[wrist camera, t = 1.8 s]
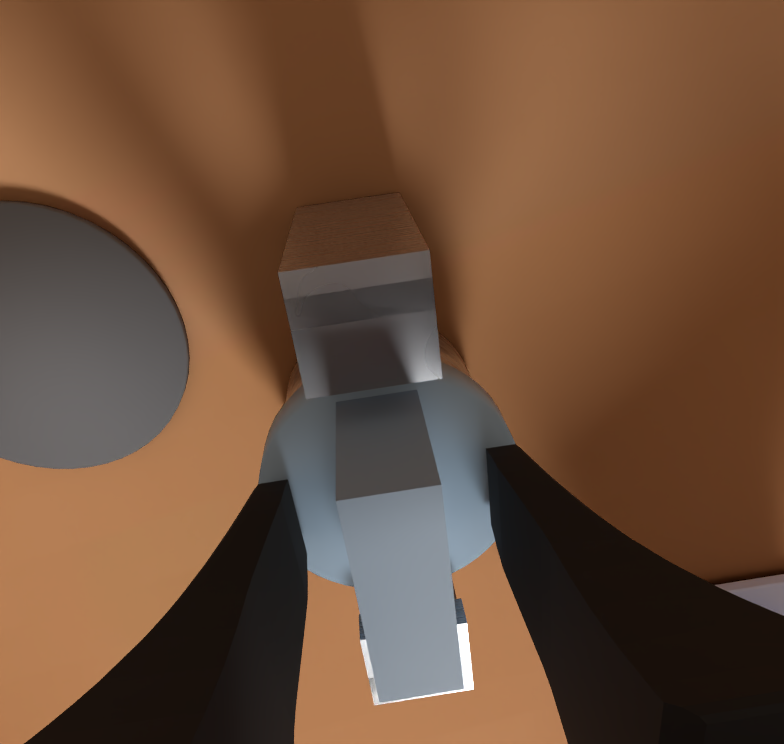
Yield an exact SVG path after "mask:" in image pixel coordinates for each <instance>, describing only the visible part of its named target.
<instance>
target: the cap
mask: <svg viewBox="0 0 784 744" xmlns="http://www.w3.org/2000/svg"><path fill="white" fill-rule="evenodd" d="M441 369H442V379H436V380H429V381H423V382H416V383H410V384H403V385H396V386H390V387H383V388H377V389H370V390H364V391H357V392H351V393H344V394H338V395H331V396H325V397H318V398H312V399H306V397H305V392H304V388H303V386H301V387H300V388H299V389H298V390H297V391H296V392H294V394H293V395H292V396H291V397H290V398H289V399H288V400H287V401H286V402H285V404H284V405H283V406H282V408H281V409H280V411H279V412H278V414H277V415H276V417H275V419H274V421H273V423H272V425H271V427H270V430H269V433H268V436H267V439H266V443H265V447H264V453H263V458H262V463H261V469H260V475H259V483H258V484H261V483H267V482H274V481H280V480H286V479H288V481H289V485H290V489H291V493H292V497H293V501H294V505H295V508H296V512H297V516H298V520H299V524H300V528H301V532H302V536H303V539H304V543H305V547H306V551H307V570H309V571H311V572H312V573H314V574H316V575H318V576H320V577H323V578H325V579H328V580H330V581H333V582H337V583H340V584H343V585H348V586H353V587H354V588H355V592H356V597H357V602H358V606H359V611H360V615H361V620H362V625H363V629H364V634H365V638H366V643H367V648H368V652H369V657H370V661H371V666H372V671H373V675H374V680H375V684H376V689H377V694H378V698H379V703H381V702H388V701H394V700H400V699H406V698H412V697H418V696H425V695H431V694H437V693H443V692H449V691H455V690H462V689H464V682H463V673H462V664H461V655H460V646H459V637H458V628H457V619H456V610H455V601H454V592H453V583H452V573H453V572H455V571H457V570H459V569H461V568H463V567H464V566H466V565H467V564H469V563H470V562H472V561H473V560H475V559H476V558H478V557H479V556H480V555H481V554H482V553H483V552H485V551H486V550H487V549H488V548H489V547H490V546H491V545H492V544H493V543H494V542H495V538H494V534H493V530H492V527H491V518H490V503H489V488H488V473H487V458H486V448H492V447H499V446H505V445H512V444H515V442H514V440H513V438H512V435H511V433H510V431H509V429H508V427H507V425H506V423H505V421H504V419H503V417H502V415H501V413H500V410H499V408H498V407H497V405H496V404H495V402H494V401H493V399H492V398H491V397H490V395H489V394H488V393H487V392H486V391H485V390H484V389H483V388H482V387H481V386H480V385H479V384H478V383H477V382H475V381H474V380H473V379H472V378H470V377H469V376H468V375H466V374H464V373H463V372H461V371H459V370H457V369H456V368H454V367H452V366H449V365H447V364H444V363H442V362H441Z"/></svg>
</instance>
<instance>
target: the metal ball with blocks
mask: <svg viewBox="0 0 784 744" xmlns="http://www.w3.org/2000/svg"><path fill="white" fill-rule="evenodd" d="M278 276H279V280H280V285H281V289H282V294H283V298H284V303H285V307H286V312H287V316H288V321H289V325H290V330H291V334H292V339H293V343H294V348H295V352H296V356H297V362H296V364H295V366H294V368H293V370H292V373H291V376H290V380H289V383H288V390H287V396H286V401H287V400H288V399H289V398H290V397H291V396H292V395H293V394H294V392H296V391H297V390H298V389H299V388H300V387H301V386H303V388H304V392H305V397H306V399H312V398H318V397H325V396H331V395H338V394H344V393H351V392H357V391H364V390H370V389H377V388H383V387H390V386H396V385H403V384H410V383H416V382H423V381H429V380H436V379H442V369H441V362H442V363H444V364H447V365H449V366H452V367H454V368H456V369H457V370H459V371H461V372H463V373H464V374H466V375H468V376H469V377H470V375H469V373H468V371H467V368H466V366H465V364H464V362H463V360H462V358H461V356H460V355H459V353H458V352H457V350H456V349H455V347H454V346H453V345H452V344H451V343H450V342H449V341H448V340H447V339H446V338H445V337H444V336H443V335H441V334H440V333H439V332H438V329H437V319H436V309H435V299H434V289H433V279H432V269H431V259H430V250H429V248H428V246H427V244H426V242H425V240H424V238H423V236H422V235H421V233H420V231H419V229H418V227H417V225H416V223H415V221H414V219H413V217H412V215H411V214H410V212H409V210H408V208H407V206H406V204H405V202H404V200H403V198H402V196H401V195H400V193H399V192H398V193H391V194H385V195H378V196H371V197H364V198H357V199H351V200H344V201H337V202H330V203H324V204H317V205H310V206H303V207H297V208H296V211H295V215H294V218H293V222H292V225H291V228H290V232H289V235H288V239H287V242H286V246H285V249H284V253H283V256H282V260H281V263H280V266H279V270H278ZM470 378H471V377H470ZM452 583H453V581H452ZM453 592H454V601H455V610H456V619H457V628H458V637H459V646H460V655H461V664H462V673H463V682H464V689H462V690H455V691H449V692H443V693H437V694H431V695H425V696H418V697H412V698H406V699H400V700H394V701H388V702H381V703H379V698H378V694H377V689H376V684H375V680H374V675H373V671H372V666H371V661H370V657H369V652H368V648H367V643H366V638H365V634H364V629H363V625H362V620H361V615H359V628H360V642H361V647H362V651H363V656H364V660H365V665H366V669H367V674H368V678H369V683H370V687H371V692H372V696H373V700H374V705H380V704H386V703H392V702H398V701H404V700H411V699H417V698H423V697H429V696H435V695H441V694H448V693H454V692H460V691H466V690H472V689H474V687H473V677H472V667H471V658H470V648H469V638H468V628H467V621H466V617H465V612H464V608H463V604H462V600H461V598H460V599H456V594H455V590H454V586H453Z"/></svg>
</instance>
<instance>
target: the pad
mask: <svg viewBox="0 0 784 744" xmlns="http://www.w3.org/2000/svg"><path fill="white" fill-rule="evenodd" d="M189 359H190V357H189V346H188V339H187V334H186V330H185V326H184V323H183V320H182V318H181V315H180V312H179V310H178V307H177V305H176V304H175V302H174V300H173V298H172V296H171V294H170V293H169V291H168V289H167V288H166V286H165V285H164V284H163V282H162V281H161V279H160V278H159V277H158V275H157V274H156V273H155V272H154V271H153V270H152V268H151V267H150V266H149V265H148V264H147V263H146V262H145V261H144V260H143V259H142V258H141V257H140V256H139V255H138V254H137V253H136V252H135V251H133V250H132V249H131V248H130V247H129V246H128V245H127V244H125V243H124V242H122V241H121V240H120V239H118V238H117V237H115V236H114V235H112V234H111V233H110V232H108V231H106V230H104V229H103V228H101V227H99V226H97V225H95V224H94V223H92V222H90V221H88V220H86V219H83V218H81V217H78V216H76V215H74V214H71V213H69V212H66V211H63V210H59V209H56V208H52V207H49V206H45V205H40V204H34V203H28V202H18V201H0V458H3V459H6V460H10V461H13V462H16V463H21V464H25V465H30V466H35V467H44V468H53V469H75V468H85V467H92V466H97V465H101V464H106V463H109V462H112V461H115V460H118V459H121V458H123V457H125V456H127V455H129V454H131V453H133V452H135V451H137V450H139V449H140V448H142V447H143V446H145V445H146V444H148V443H149V442H150V441H151V440H152V439H153V438H155V437H156V436H157V435H158V434H159V433H160V432H161V431H162V430H163V428H164V427H165V426H166V425H167V424H168V422H169V421H170V419H171V418H172V416H173V414H174V413H175V411H176V409H177V407H178V405H179V403H180V401H181V398H182V396H183V393H184V391H185V388H186V383H187V379H188V374H189Z"/></svg>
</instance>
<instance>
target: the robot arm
mask: <svg viewBox="0 0 784 744" xmlns="http://www.w3.org/2000/svg"><path fill="white" fill-rule="evenodd" d="M486 458H487V473H488V488H489V503H490V518H491V527H492V530H493V534H494V538H495V541H496V545H497V549H498V552H499V556H500V559H501V563H502V566H503V569H504V572H505V574H506V577H507V579H508V582H509V584H510V587H511V589H512V592H513V594H514V597H515V599H516V601H517V604H518V606H519V609H520V611H521V614H522V616H523V618H524V621H525V623H526V626H527V628H528V631H529V633H530V635H531V638H532V640H533V643H534V645H535V648H536V650H537V652H538V655H539V657H540V660H541V662H542V665H543V667H544V670H545V673H546V675H547V678H548V681H549V684H550V686H551V689H552V693H553V696H554V699H555V702H556V706H557V709H558V712H559V716H560V719H561V722H562V725H563V729H564V732H565V735H566V738H567V742H568V744H784V574H781V575H774V576H768V577H762V578H756V579H749V580H743V581H737V582H731V583H724V584H718V585H713V584H711V583H709V582H707V581H705V580H703V579H701V578H699V577H697V576H695V575H693V574H691V573H690V572H688V571H686V570H684V569H682V568H680V567H678V566H676V565H674V564H673V563H671V562H669V561H667V560H665V559H664V558H662V557H660V556H658V555H657V554H655V553H654V552H652V551H650V550H649V549H647V548H645V547H644V546H642V545H641V544H639V543H637V542H636V541H634V540H632V539H631V538H629V537H628V536H626V535H625V534H623V533H622V532H620V531H619V530H618V529H616V528H615V527H613V526H612V525H611V524H609V523H608V522H607V521H605V520H604V519H602V518H601V517H600V516H598V515H597V514H596V513H594V512H593V511H592V510H591V509H589V508H588V507H587V506H585V505H584V504H583V503H582V502H581V501H579V500H578V499H577V498H576V497H574V496H573V495H572V494H571V493H570V492H568V491H567V490H566V489H565V488H564V487H562V486H561V485H560V484H559V483H558V482H557V481H555V480H554V479H553V478H552V477H551V476H550V475H549V474H548V473H546V472H545V471H544V470H543V469H542V468H541V467H540V466H539V465H538V464H537V463H536V462H535V461H533V460H532V459H531V458H530V457H529V456H528V455H527V454H526V453H525V452H524V451H523V450H522V449H521V448H520V447H518V446H517V445H516V444H512V445H505V446H499V447H492V448H486ZM307 600H308V574H307V551H306V547H305V543H304V539H303V536H302V532H301V528H300V524H299V520H298V516H297V512H296V508H295V505H294V501H293V497H292V493H291V489H290V485H289V481H288V479H286V480H280V481H274V482H267V483H261V484H258V485H257V487H256V488H255V489H254V491H253V492H252V494H251V495H250V497H249V499H248V500H247V502H246V503H245V505H244V507H243V508H242V510H241V512H240V513H239V515H238V516H237V518H236V519H235V521H234V522H233V524H232V526H231V527H230V529H229V530H228V532H227V533H226V535H225V536H224V538H223V539H222V541H221V542H220V543H219V545H218V546H217V548H216V549H215V551H214V552H213V554H212V555H211V557H210V558H209V559H208V561H207V562H206V564H205V565H204V566H203V568H202V569H201V570H200V572H199V573H198V574H197V575H196V577H195V578H194V579H193V581H192V582H191V583H190V585H189V586H188V587H187V589H186V590H185V591H184V592H183V594H182V595H181V596H180V597H179V599H178V600H177V601H176V602H175V604H174V605H173V606H172V607H171V608H170V610H169V611H168V612H167V613H166V614H165V615H164V616H163V618H162V619H161V620H160V621H159V622H158V623H157V624H156V625H155V626H154V628H153V629H152V630H151V631H150V632H149V633H148V634H147V635H146V636H145V637H144V638H143V639H142V640H141V641H140V642H139V643H138V644H137V645H136V646H135V647H134V648H133V649H132V650H131V651H130V652H129V653H128V654H127V655H126V656H125V657H124V658H123V659H122V660H121V661H120V662H119V663H118V664H117V665H116V666H115V667H114V668H112V669H111V670H110V671H109V672H108V673H107V674H106V675H105V676H104V677H103V678H102V679H101V680H100V681H99V682H98V683H97V684H96V685H94V686H93V687H92V688H91V689H90V690H89V691H88V692H86V693H85V694H84V695H83V696H82V697H81V698H80V699H78V700H77V701H76V702H75V703H74V704H73V705H72V706H70V707H69V708H68V709H67V710H65V711H64V712H63V713H62V714H61V715H59V716H58V717H57V718H56V719H55V720H53V721H52V722H51V723H50V724H49V725H47V726H46V727H45V728H44V729H42V730H41V731H40V732H38V733H37V734H36V735H35V736H33V737H32V738H31V739H30V740H28V741H27V742H26V743H24V744H294V724H295V710H296V699H297V691H298V682H299V673H300V664H301V655H302V647H303V638H304V629H305V620H306V610H307Z"/></svg>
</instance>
